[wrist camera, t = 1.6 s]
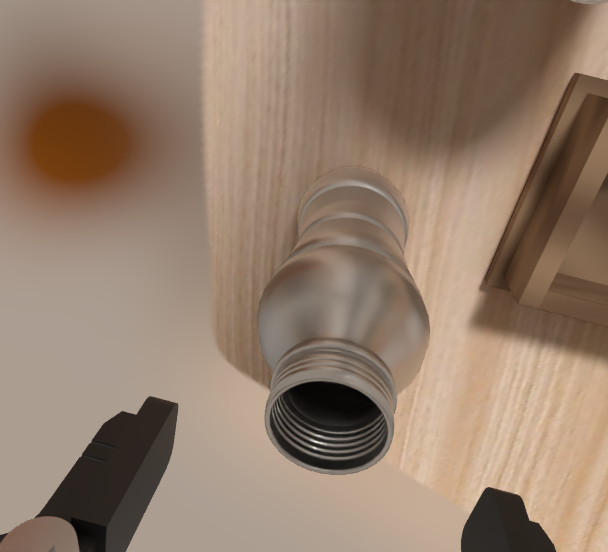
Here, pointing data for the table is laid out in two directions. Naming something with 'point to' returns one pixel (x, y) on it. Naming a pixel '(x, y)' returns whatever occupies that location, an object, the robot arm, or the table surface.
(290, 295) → the plastic bottle
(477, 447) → the table surface
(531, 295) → the bottle stand
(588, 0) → the mug
